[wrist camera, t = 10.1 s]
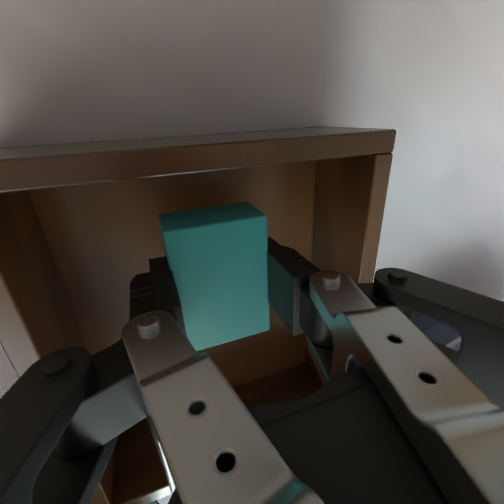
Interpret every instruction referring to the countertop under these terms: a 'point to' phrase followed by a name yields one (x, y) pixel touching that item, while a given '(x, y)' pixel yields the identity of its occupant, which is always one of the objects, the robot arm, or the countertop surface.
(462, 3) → the countertop surface
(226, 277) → the block
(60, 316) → the box
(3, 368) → the countertop surface
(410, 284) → the robot arm
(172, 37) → the countertop surface
